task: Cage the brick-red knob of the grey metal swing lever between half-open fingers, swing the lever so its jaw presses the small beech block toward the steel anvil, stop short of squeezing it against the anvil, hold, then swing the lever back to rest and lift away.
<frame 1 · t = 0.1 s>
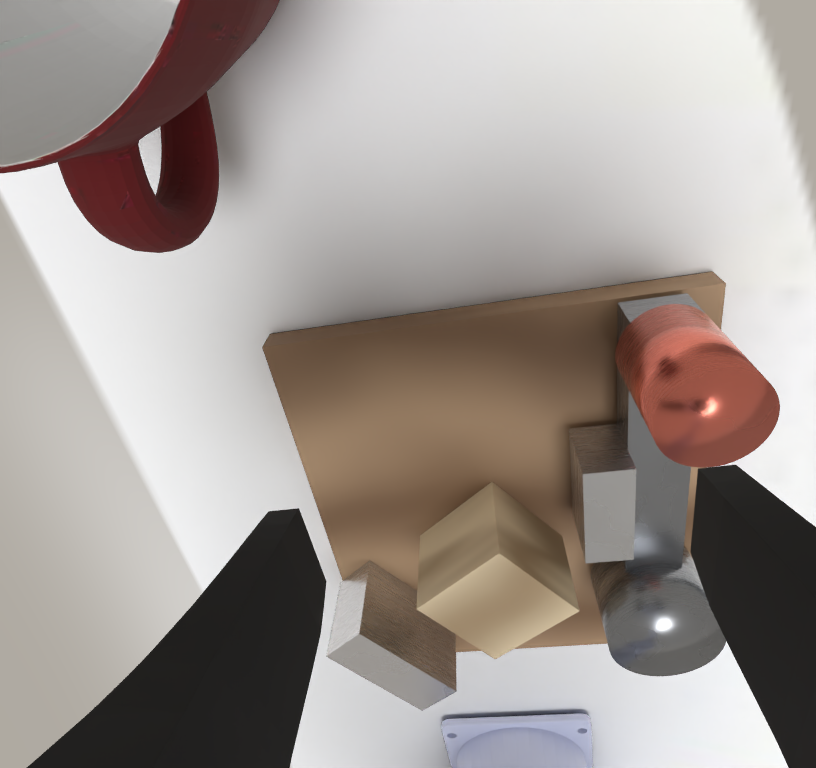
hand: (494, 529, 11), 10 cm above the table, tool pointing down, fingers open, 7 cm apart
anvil: (400, 580, 26), resting on board
board: (503, 496, 23), on the table
lever: (658, 523, 19), point 4 cm above the table, hinge at 0.0°
nut block: (490, 535, 23), point 1 cm above the table, touching board
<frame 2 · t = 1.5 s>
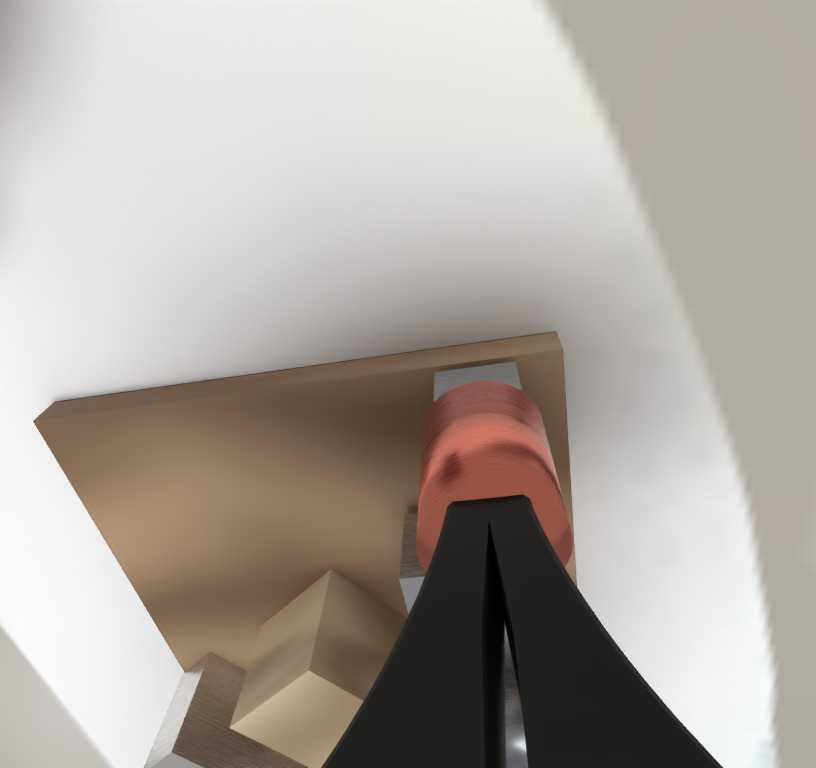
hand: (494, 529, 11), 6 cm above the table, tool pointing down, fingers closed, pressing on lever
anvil: (259, 668, 23), resting on board
board: (357, 580, 20), on the table
lever: (499, 634, 15), point 4 cm above the table, hinge at -0.1°, touching gripper
nut block: (341, 626, 20), point 1 cm above the table, touching board
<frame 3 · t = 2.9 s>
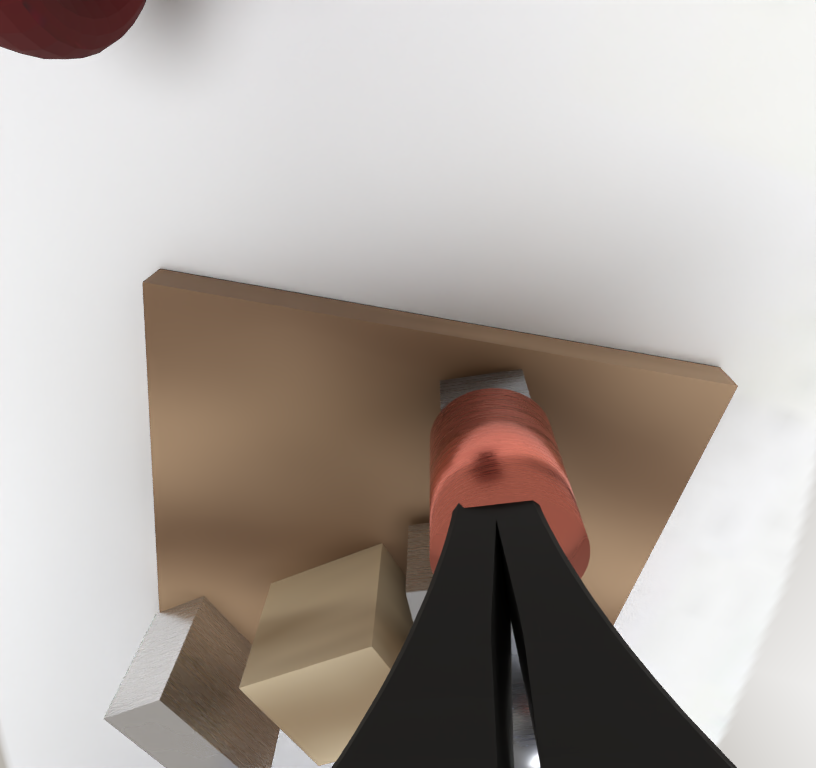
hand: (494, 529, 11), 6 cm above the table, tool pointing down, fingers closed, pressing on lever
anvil: (234, 625, 21), resting on board
board: (394, 557, 19), on the table
lever: (507, 648, 15), point 4 cm above the table, hinge at 20.4°, touching gripper, nut block
nut block: (357, 604, 19), point 1 cm above the table, touching lever
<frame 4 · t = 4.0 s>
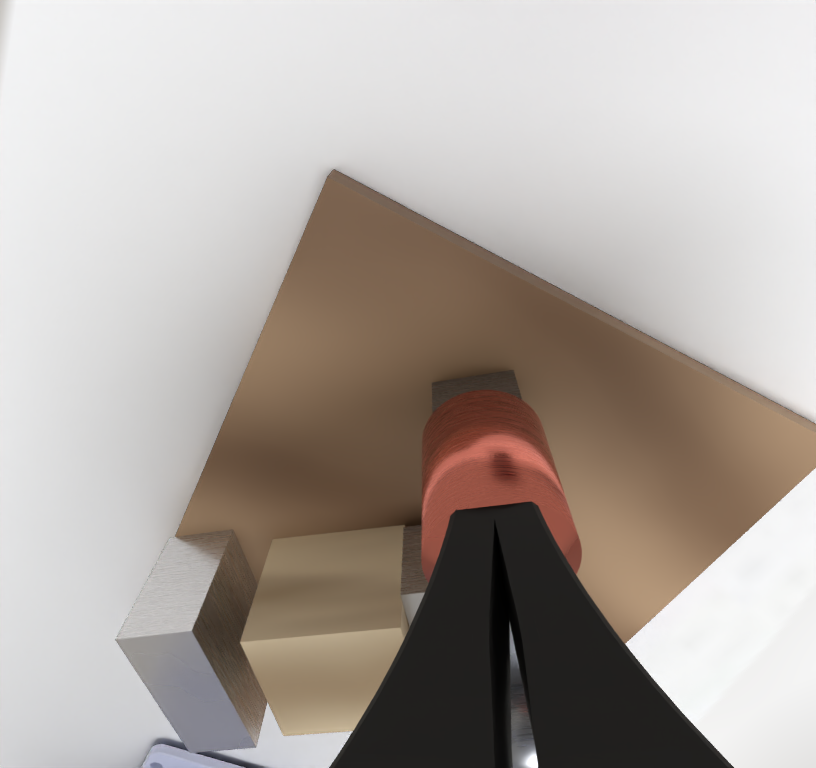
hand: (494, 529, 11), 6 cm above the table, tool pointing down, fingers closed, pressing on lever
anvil: (238, 567, 19), resting on board
board: (437, 532, 18), on the table
lever: (503, 648, 15), point 4 cm above the table, hinge at 38.2°, touching gripper
nut block: (352, 579, 18), point 1 cm above the table, touching board
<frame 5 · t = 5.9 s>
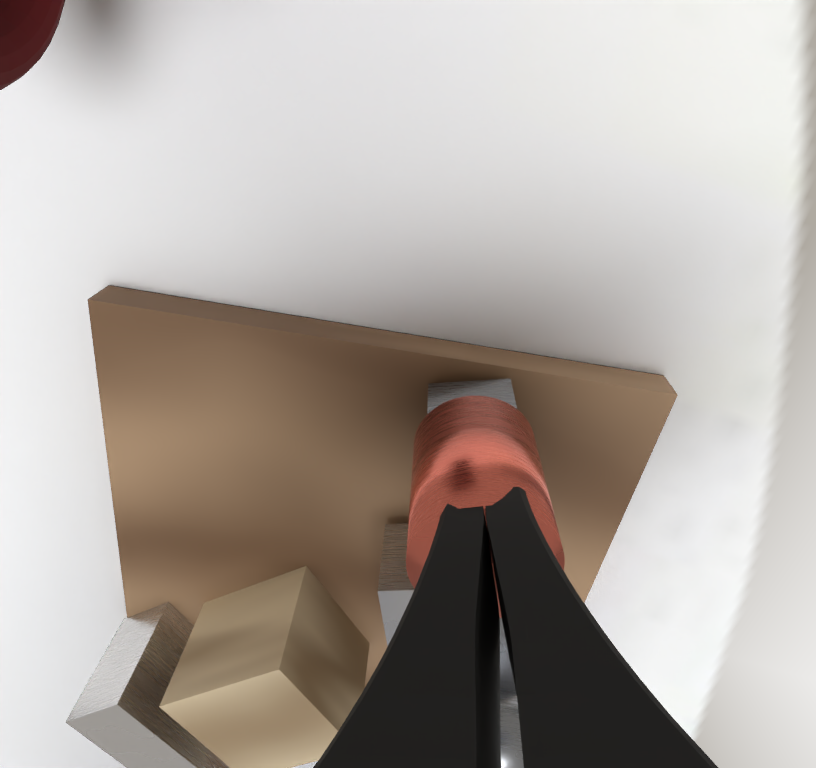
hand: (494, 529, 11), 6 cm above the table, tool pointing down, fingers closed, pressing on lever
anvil: (203, 629, 21), resting on board
board: (355, 563, 19), on the table
lever: (474, 652, 15), point 4 cm above the table, hinge at 14.5°, touching gripper
nut block: (288, 623, 19), point 1 cm above the table, touching board
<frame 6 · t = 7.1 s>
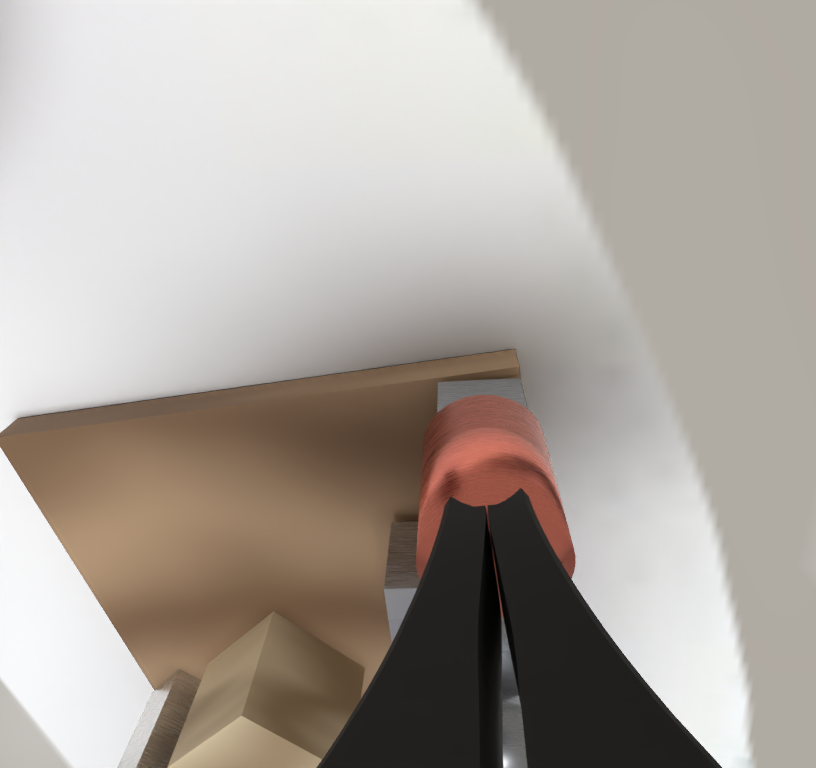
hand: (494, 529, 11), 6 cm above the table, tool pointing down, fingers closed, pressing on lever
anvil: (231, 685, 23), resting on board
board: (326, 596, 20), on the table
lever: (478, 651, 15), point 4 cm above the table, hinge at -5.6°, touching gripper
nut block: (285, 665, 21), point 1 cm above the table, touching board
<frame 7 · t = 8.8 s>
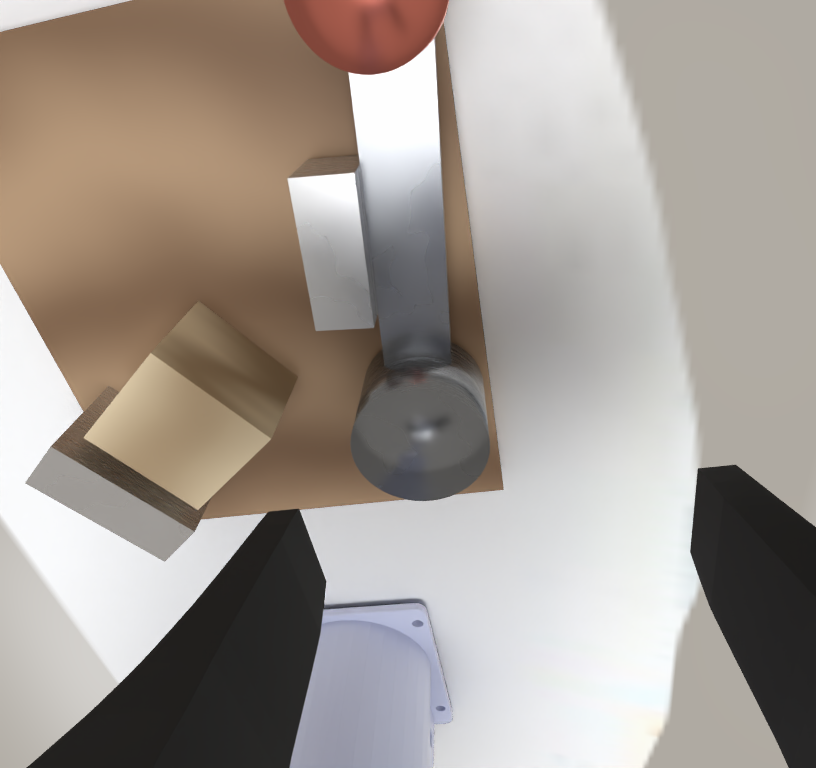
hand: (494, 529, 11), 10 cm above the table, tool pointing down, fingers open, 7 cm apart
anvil: (168, 425, 22), resting on board
board: (257, 299, 19), on the table
lever: (393, 267, 15), point 4 cm above the table, hinge at -5.5°
nut block: (216, 377, 20), point 1 cm above the table, touching board
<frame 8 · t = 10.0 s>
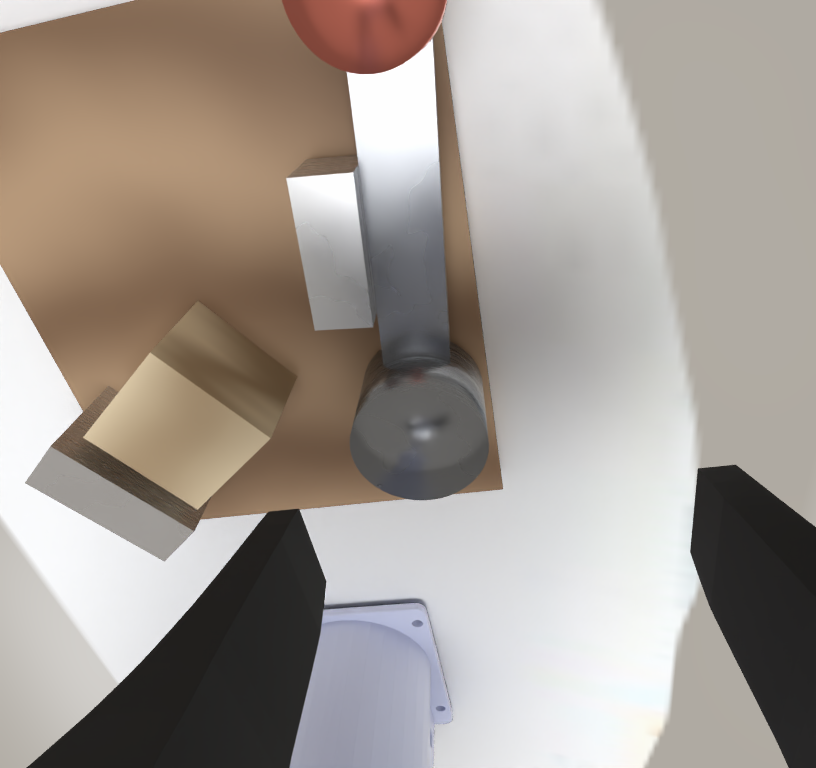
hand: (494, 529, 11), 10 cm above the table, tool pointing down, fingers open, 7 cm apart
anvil: (168, 426, 22), resting on board
board: (256, 299, 19), on the table
lever: (392, 266, 15), point 4 cm above the table, hinge at -5.5°
nut block: (216, 377, 20), point 1 cm above the table, touching board
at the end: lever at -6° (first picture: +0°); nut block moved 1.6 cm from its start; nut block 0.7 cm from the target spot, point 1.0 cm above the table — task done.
